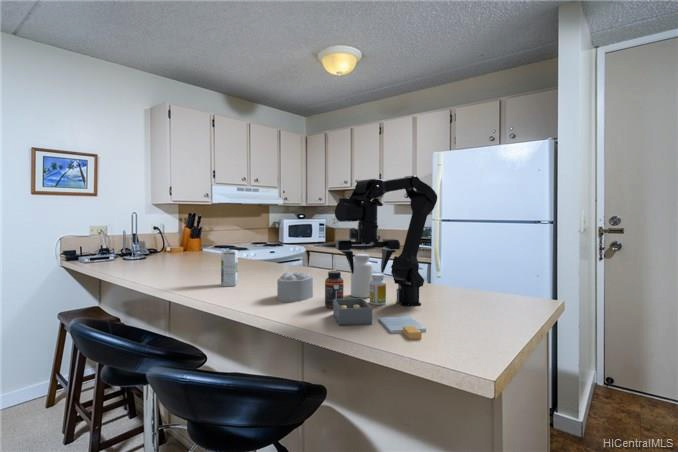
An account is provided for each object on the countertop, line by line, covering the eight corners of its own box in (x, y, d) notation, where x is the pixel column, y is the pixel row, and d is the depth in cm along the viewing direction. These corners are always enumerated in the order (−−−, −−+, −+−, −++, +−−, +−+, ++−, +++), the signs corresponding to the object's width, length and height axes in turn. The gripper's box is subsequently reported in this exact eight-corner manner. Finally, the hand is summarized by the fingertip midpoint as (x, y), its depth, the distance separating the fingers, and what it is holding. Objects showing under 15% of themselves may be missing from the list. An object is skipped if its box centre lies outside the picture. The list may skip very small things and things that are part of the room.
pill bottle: (376, 294, 130) (376, 254, 130) (366, 299, 124) (366, 256, 123) (357, 292, 135) (357, 252, 134) (346, 296, 128) (346, 255, 127)
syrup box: (223, 283, 150) (223, 249, 150) (238, 283, 151) (237, 249, 150) (220, 286, 145) (220, 251, 144) (235, 286, 145) (235, 251, 145)
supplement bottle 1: (341, 309, 111) (341, 273, 110) (323, 308, 112) (322, 272, 112) (345, 304, 117) (345, 270, 116) (327, 303, 118) (327, 269, 117)
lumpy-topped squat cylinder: (316, 296, 128) (316, 272, 128) (292, 304, 118) (291, 278, 117) (295, 292, 134) (295, 269, 134) (269, 299, 124) (269, 274, 123)
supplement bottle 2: (387, 301, 120) (387, 273, 120) (384, 305, 115) (384, 276, 115) (371, 300, 122) (371, 272, 122) (367, 304, 117) (368, 275, 117)
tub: (362, 312, 107) (363, 298, 107) (372, 324, 96) (372, 307, 96) (333, 314, 106) (333, 299, 106) (339, 326, 95) (339, 309, 95)
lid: (410, 318, 102) (410, 313, 102) (433, 337, 86) (434, 331, 86) (378, 320, 100) (378, 314, 100) (396, 340, 85) (396, 333, 85)
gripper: (389, 220, 116) (389, 268, 117) (333, 220, 113) (333, 269, 114) (400, 221, 105) (400, 273, 106) (338, 221, 102) (338, 275, 103)
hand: (367, 272), depth 107 cm, fingers open, 9 cm apart
